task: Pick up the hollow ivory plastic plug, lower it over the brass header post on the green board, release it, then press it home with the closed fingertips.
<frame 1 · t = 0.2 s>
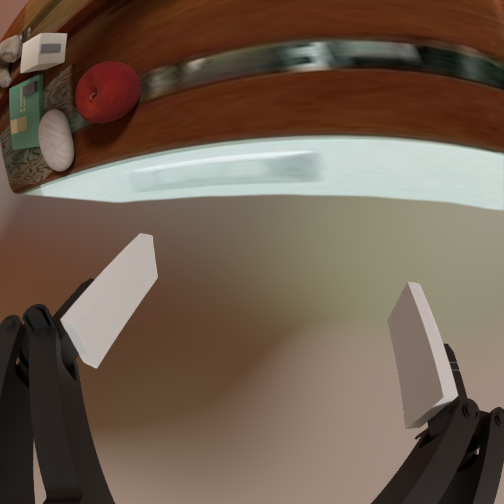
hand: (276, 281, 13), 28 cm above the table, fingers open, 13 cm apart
plug: (55, 51, 30), on the table
apple: (129, 89, 34), on the table
board: (27, 113, 38), on the table
decorative stone: (65, 137, 40), on the table
seashell: (17, 58, 30), on the table
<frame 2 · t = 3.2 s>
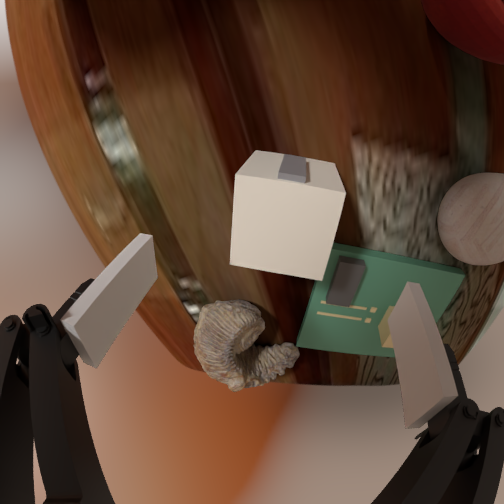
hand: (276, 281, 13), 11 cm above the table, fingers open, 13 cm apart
plug: (289, 192, 23), on the table
apple: (448, 16, 11), on the table
board: (378, 308, 27), on the table
decorative stone: (478, 207, 19), on the table
seashell: (249, 322, 33), on the table
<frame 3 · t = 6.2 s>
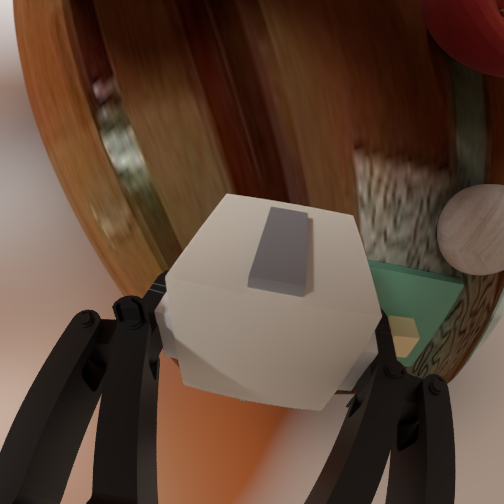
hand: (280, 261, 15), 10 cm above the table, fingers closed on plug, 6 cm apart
plug: (280, 257, 15), point 10 cm above the table, touching gripper
apple: (449, 29, 12), on the table
board: (378, 317, 28), on the table
decorative stone: (477, 217, 20), on the table
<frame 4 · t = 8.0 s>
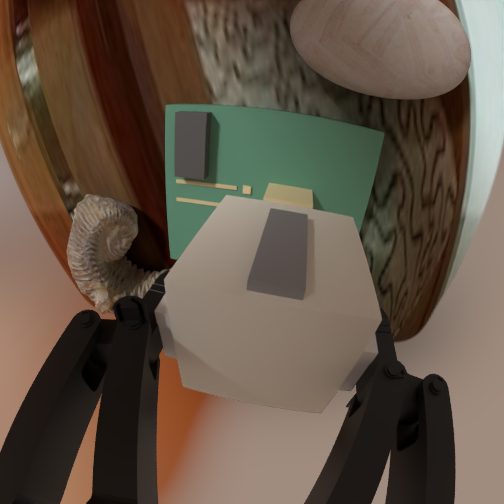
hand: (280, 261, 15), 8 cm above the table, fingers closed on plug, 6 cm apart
plug: (280, 259, 15), point 8 cm above the table, touching gripper
board: (263, 196, 22), on the table
decorative stone: (378, 43, 14), on the table
seashell: (136, 238, 27), on the table
when the fingers open (2 cm above the table, at t = 10.2 s): plug stays where it is, resting on board.
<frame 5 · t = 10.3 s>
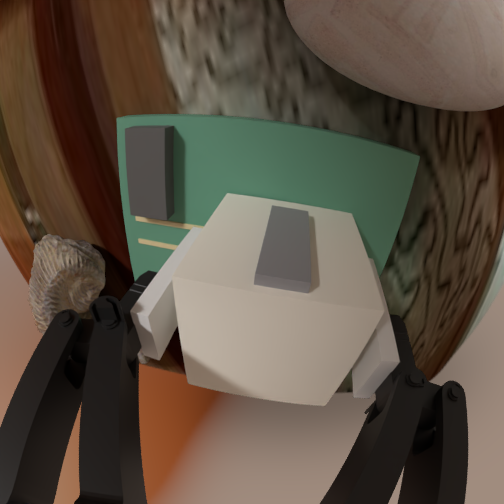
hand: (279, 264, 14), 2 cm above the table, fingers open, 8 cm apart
plug: (281, 255, 15), point 1 cm above the table, touching board
board: (250, 238, 16), on the table
decorative stone: (409, 29, 8), on the table
seashell: (108, 281, 22), on the table
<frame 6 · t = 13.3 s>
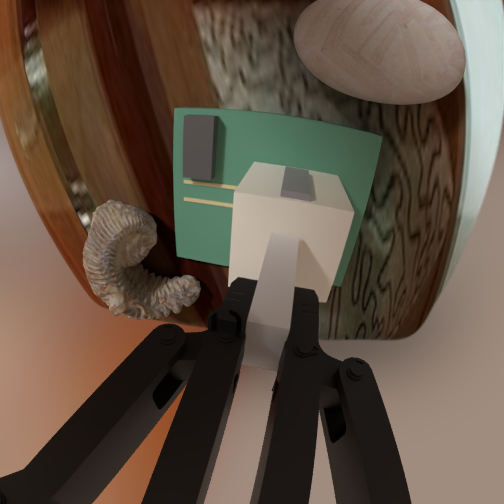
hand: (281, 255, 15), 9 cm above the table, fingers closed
plug: (290, 206, 21), point 1 cm above the table, touching board
board: (267, 196, 23), on the table
decorative stone: (377, 50, 15), on the table
seashell: (150, 244, 28), on the table
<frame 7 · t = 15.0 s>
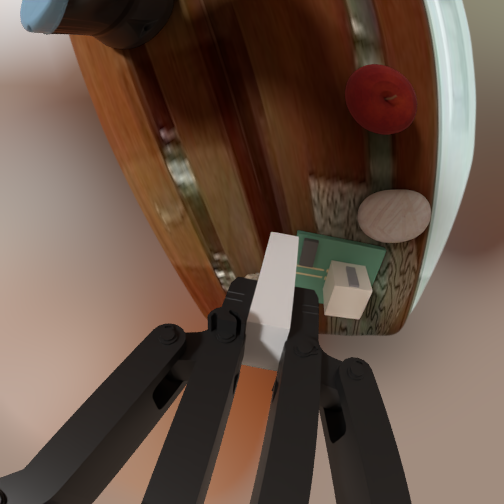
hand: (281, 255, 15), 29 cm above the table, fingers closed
plug: (343, 277, 48), point 1 cm above the table, touching board
apple: (370, 99, 33), on the table
board: (333, 271, 49), on the table
decorative stone: (391, 209, 41), on the table
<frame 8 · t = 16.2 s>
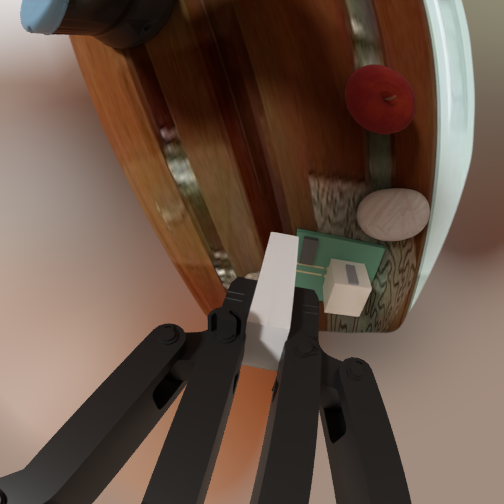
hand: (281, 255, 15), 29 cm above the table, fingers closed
plug: (343, 275, 48), point 1 cm above the table, touching board
apple: (369, 98, 33), on the table
board: (332, 269, 49), on the table
decorative stone: (390, 208, 41), on the table
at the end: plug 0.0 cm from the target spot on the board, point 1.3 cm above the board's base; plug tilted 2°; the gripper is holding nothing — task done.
